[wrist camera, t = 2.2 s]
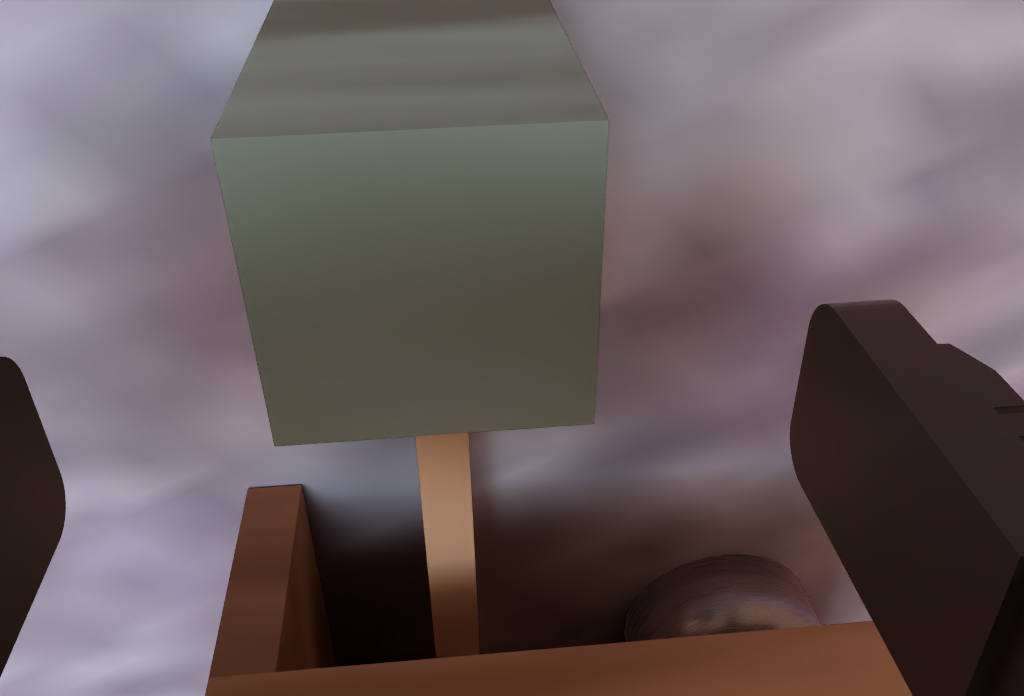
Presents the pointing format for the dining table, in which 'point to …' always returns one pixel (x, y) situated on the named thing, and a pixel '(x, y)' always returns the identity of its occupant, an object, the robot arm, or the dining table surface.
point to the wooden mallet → (419, 239)
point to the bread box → (511, 675)
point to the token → (720, 600)
